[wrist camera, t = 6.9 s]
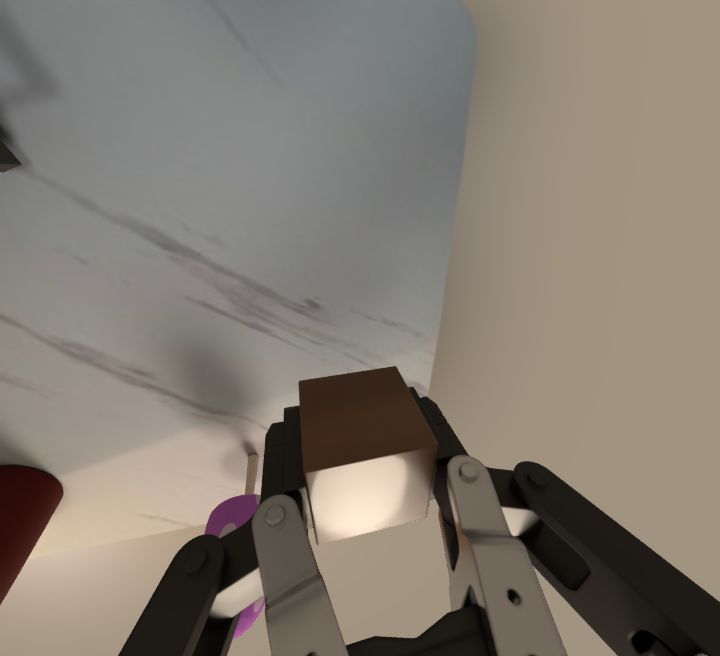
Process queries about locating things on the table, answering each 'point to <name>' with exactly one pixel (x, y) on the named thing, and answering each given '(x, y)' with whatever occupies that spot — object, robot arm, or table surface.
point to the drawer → (7, 158)
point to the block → (364, 453)
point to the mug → (23, 517)
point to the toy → (231, 518)
